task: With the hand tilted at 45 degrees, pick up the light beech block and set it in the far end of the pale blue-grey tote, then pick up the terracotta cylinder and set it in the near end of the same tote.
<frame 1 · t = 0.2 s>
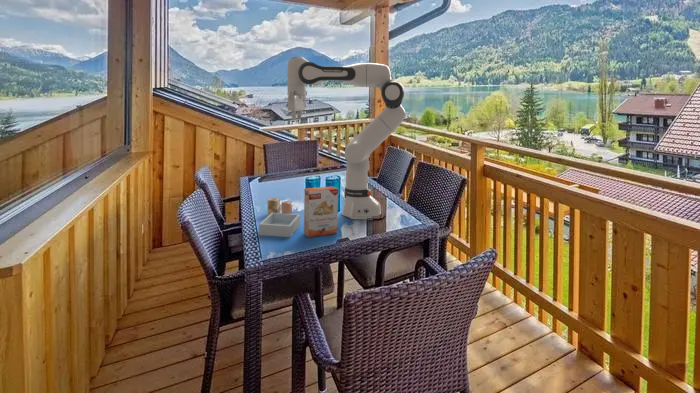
hand: (296, 119, 202), 48 cm above the table, tool pointing down, fingers open, 8 cm apart
cracker box: (320, 234, 180), on the table
tote: (280, 229, 184), on the table
terracotta cylinder: (286, 220, 198), on the table
beech block: (274, 214, 207), on the table
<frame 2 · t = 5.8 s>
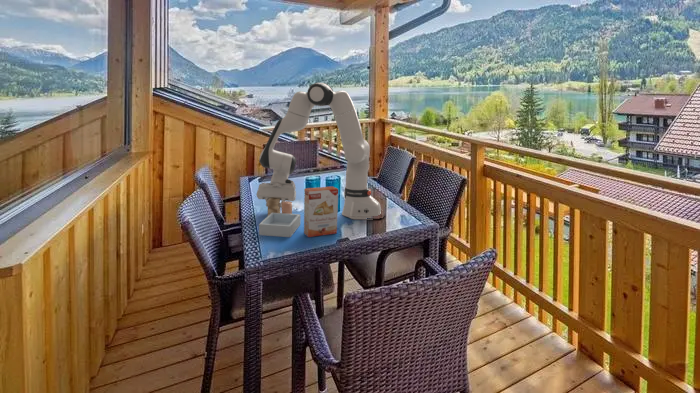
hand: (273, 206, 205), 4 cm above the table, tool tilted 45°, fingers closed on beech block, 5 cm apart
beech block: (274, 214, 207), on the table, touching gripper
everything else where it was.
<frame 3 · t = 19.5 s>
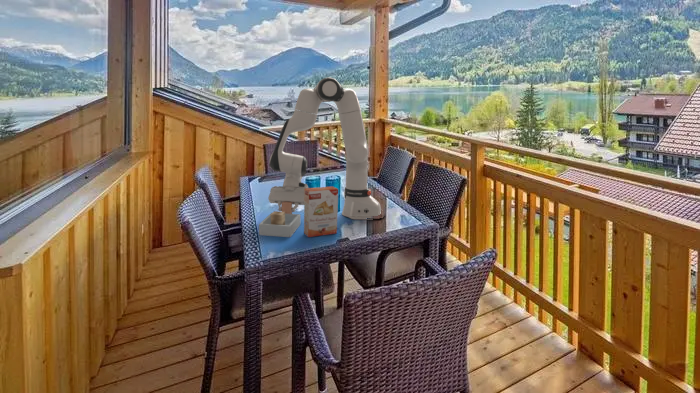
hand: (286, 211, 196), 5 cm above the table, tool tilted 45°, fingers closed on terracotta cylinder, 5 cm apart
terracotta cylinder: (286, 220, 198), on the table, touching gripper
beech block: (278, 230, 180), point 1 cm above the table, touching tote
everything else where it was.
when the fingers open (7 cm above the table, at t = 24.9 s): terracotta cylinder drops 1 cm, resting on tote.
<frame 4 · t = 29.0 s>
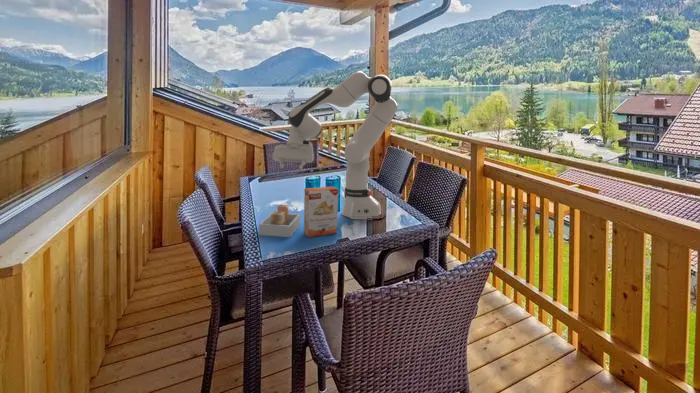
hand: (290, 167, 196), 25 cm above the table, tool tilted 45°, fingers open, 8 cm apart
terracotta cylinder: (283, 224, 188), point 1 cm above the table, touching tote
everything else where it was.
at the end: beech block inside the target area on the tote (4.0 cm from its centre), point 1.0 cm above the tote's base; terracotta cylinder inside the target area on the tote (4.0 cm from its centre), point 1.0 cm above the tote's base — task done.
